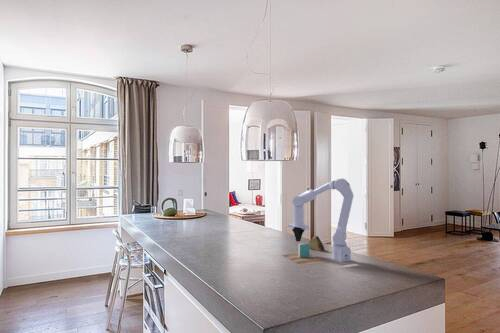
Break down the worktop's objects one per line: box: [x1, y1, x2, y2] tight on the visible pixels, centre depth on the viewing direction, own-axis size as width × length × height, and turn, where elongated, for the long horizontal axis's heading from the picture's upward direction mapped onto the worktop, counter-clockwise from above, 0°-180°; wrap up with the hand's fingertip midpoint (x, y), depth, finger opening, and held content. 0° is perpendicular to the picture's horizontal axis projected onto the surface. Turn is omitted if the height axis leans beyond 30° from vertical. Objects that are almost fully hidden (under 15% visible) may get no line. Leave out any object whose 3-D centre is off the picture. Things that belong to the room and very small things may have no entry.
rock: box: [308, 235, 326, 252], centre depth 200 cm, size 11×9×10 cm
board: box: [281, 252, 329, 266], centre depth 177 cm, size 22×16×1 cm
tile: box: [298, 242, 311, 258], centre depth 181 cm, size 2×6×7 cm, turn 113°
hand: (298, 241), depth 187 cm, fingers closed
